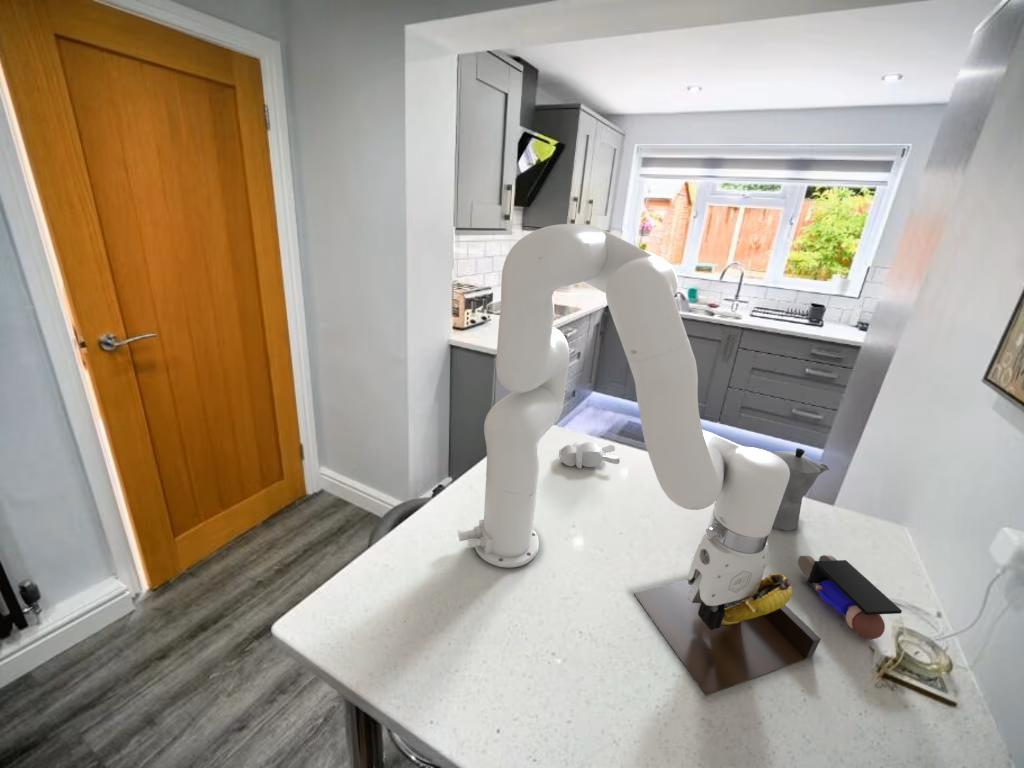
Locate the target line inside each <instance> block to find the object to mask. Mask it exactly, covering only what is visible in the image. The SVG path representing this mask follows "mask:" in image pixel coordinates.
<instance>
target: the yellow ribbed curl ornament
mask: <svg viewBox="0 0 1024 768" xmlns="http://www.w3.org/2000/svg"><path fill="white" fill-rule="evenodd" d="M792 593H793V588H792V583H791V582H790V580H789V579H788V578H787V577H786V576H785V575H784V574H782V573H773V572H771V573H770V574H769V575H768V576H766V577H764V578H762V580H761V583H760V586H759V588H758V591H757V592H756V593H755V594H754V595H752V596H750V597H747V598H744V599H740V600H736V601H733V602H732V603H731V605H730V607H729V608H727V609H725V608H724V609H725V610H726V611H725V614H724V617H723V620H722V623H721V625H724V626H730V625H734V624H736V623H738V622H740V621H743V620H747V619H751V618H755V617H758V616H762V615H766V614H768V613H770V612H773V611H775V610H777V609H779V608H781V607H783V606H784V605H786V604H787V603H788V602H789V601H790V600H791V597H792Z"/></svg>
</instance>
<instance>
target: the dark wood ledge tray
mask: <svg viewBox="0 0 1024 768" xmlns="http://www.w3.org/2000/svg"><path fill="white" fill-rule="evenodd" d="M691 587H692V585H689V584H688V578H687V579H683V580H680V581H675V582H672V583H668V584H667V583H666V584H664V585H663V584H662V585H660V586H656V587H652V588H648V589H643V590H640V591H636V592H633V595H634V596H635V598H636V599H637V601H638V602H639V603H640V604H641V606H642V607H643V609H644V611H645V612H646V613H647V614H648V616H649V617H650V619H651V621H652V622H653V623H654V624H655V626H656V627H657V629H658V630H659V631H660V633H661V635H662V636H663V638H664V639H665V640H666V641H667V643H668V644H669V646H670V647H671V648H672V650H673V651H674V653H675V654H676V655H677V657H678V658H679V660H680V662H681V663H682V664H683V665H684V667H685V668H686V670H687V671H688V672H689V674H690V675H691V676H692V678H693V680H694V681H695V683H696V684H697V685H698V686H699V688H700V689H701V691H702V692H703V694H704V695H705V696H710V695H711V694H714V693H717V692H721V691H722V690H725V689H728V688H731V687H734V686H737V685H739V684H742V683H744V682H747V681H751V680H753V679H756V678H758V677H761V676H764V675H767V674H769V673H773V672H774V671H778V670H780V669H783V668H786V667H788V666H791V665H795V664H796V663H800V662H803V661H805V660H808V659H810V658H813V656H814V655H815V652H816V650H817V648H818V646H819V644H820V642H821V641H822V638H821V637H820V636H819V635H818V634H817V633H816V632H814V631H813V630H812V629H811V628H810V627H809V626H808V625H807V624H806V623H805V622H804V621H803V620H802V619H801V618H800V617H799V616H798V615H796V613H795V612H794V611H792V610H791V609H790V608H789V607H788V606H787V605H786V604H785V605H784V606H783V607H781V608H779V609H777V610H775V611H773V612H770V613H768V614H766V615H762V616H758V617H755V618H751V619H747V620H743V621H740V622H738V623H736V624H734V625H730V626H724V625H721V626H720V628H717V629H716V628H715V629H713V630H710V629H709V628H708V626H707V625H706V624H705V623H704V622H703V621H702V619H701V618H700V616H699V615H698V611H699V608H700V605H701V603H692V602H691V600H690V599H689V598H688V597H687V594H688V592H689V590H690V589H691Z"/></svg>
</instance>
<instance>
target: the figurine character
mask: <svg viewBox="0 0 1024 768" xmlns="http://www.w3.org/2000/svg"><path fill="white" fill-rule="evenodd" d="M797 564H798V565H797V566H798V568H799V570H800V571H801V573H802V574H803V575H804V576H807V577H808V579H806V584H808V585H809V586H810V587H811V588H812V589H813V590H814V591H815V592H816V593H818V594H819V596H820V599H821V600H822V601H823V602H825V603H826V604H827V605H829V606H831V607H833V608H834V609H835V611H836V612H837V613H842V614H843V615H845V621H846V624H847V626H848V628H849V629H850V630H851V632H852V633H854V634H855V635H857V636H859V637H860V638H864V639H866V640H873V639H874V640H875V639H879V638H880V637H882V635H883V634H884V632H885V630H886V624H885V620H884V618H883V617H882V616H881V615H895V614H896V615H898V614H902V612H903V610H902V609H901V608H900V607H899V606H897V604H895V603H894V602H893V600H891V599H890V598H889V597H888V596H886V594H884V593H883V592H882V591H881V590H880V589H879V588H877V586H875V584H873V583H872V582H871V581H870V580H869V579H868V578H866V577H865V576H864V575H863V574H862V573H861V572H860V571H859V570H857V568H856V567H854V566H853V565H852V564H851V563H850V562H849V561H848V560H846V559H839V560H837V559H836V557H835V556H833V555H830V554H826V555H824V554H823V555H821V556H819V559H818V560H815V559H814V557H813V556H811V555H800V556H799V557H798V559H797ZM814 584H816V585H814Z"/></svg>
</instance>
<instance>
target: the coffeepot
mask: <svg viewBox="0 0 1024 768" xmlns="http://www.w3.org/2000/svg"><path fill="white" fill-rule="evenodd" d="M805 452H806V450H804V449H803V448H800V447H799V448H796V449H795V451H791V450H787V449H786V450H773V454H775V455H777V456H779V457H780V458H781V459H782V460H784V461H785V462H786V464H787V465H788V467H789V470H790V477H789V481H788V484H787V487H786V489H785V492H784V495H783V498H782V501H781V503H780V506H779V509H778V512H777V514H776V517H775V520H774V523H773V526H772V528H773V529H777V530H780V531H794V530H798V528H799V522H800V521H799V520H800V514H801V508H802V502H803V498H804V497H805V496H807V494H808V492H809V491H810V490H811V488H812V487H813V485H814V484H815V482H816V480H817V479H818V477H819V476H820V475H821V474H823V473H825V472H826V471H830V468H829V467H828V466H827V465H826V464H825V463H824V464H823V463H822V462H819V461H816V460H813V458H810V457H808V456H807V455H805Z"/></svg>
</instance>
